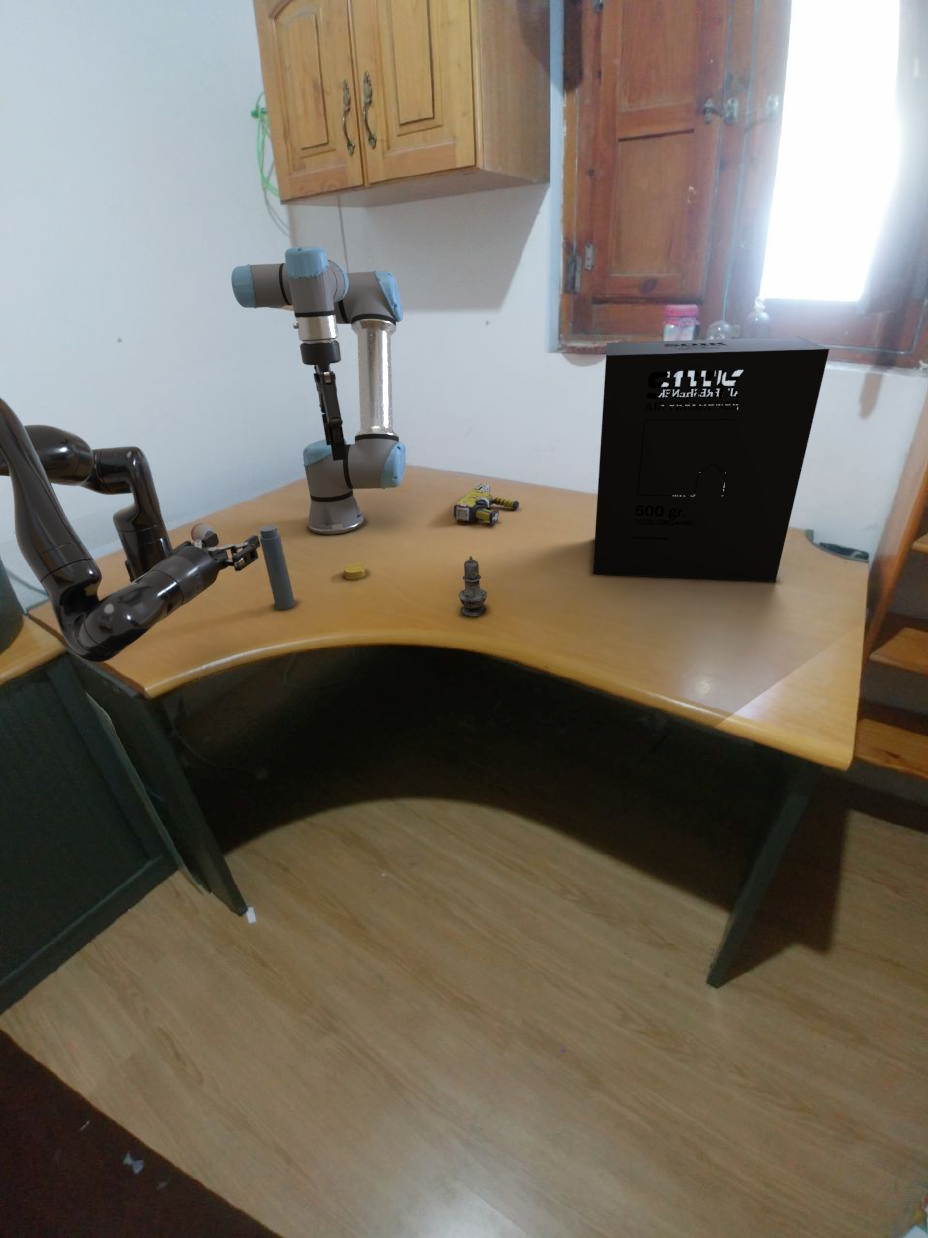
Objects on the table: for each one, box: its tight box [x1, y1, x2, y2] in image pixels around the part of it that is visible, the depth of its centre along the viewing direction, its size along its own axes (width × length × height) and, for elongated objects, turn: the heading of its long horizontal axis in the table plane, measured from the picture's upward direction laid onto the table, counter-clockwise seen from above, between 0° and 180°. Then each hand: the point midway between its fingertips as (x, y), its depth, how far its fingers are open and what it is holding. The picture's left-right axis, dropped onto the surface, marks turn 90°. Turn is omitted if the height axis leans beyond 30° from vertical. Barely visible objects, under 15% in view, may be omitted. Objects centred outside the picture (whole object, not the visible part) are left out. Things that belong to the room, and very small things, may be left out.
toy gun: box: [452, 482, 520, 526], centre depth 172 cm, size 5×24×15 cm
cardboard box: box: [592, 336, 830, 583], centre depth 128 cm, size 38×20×45 cm, turn 78°
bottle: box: [258, 524, 296, 611], centre depth 125 cm, size 4×4×18 cm
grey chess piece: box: [457, 555, 488, 617], centre depth 120 cm, size 6×6×12 cm
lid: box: [343, 563, 367, 581], centre depth 140 cm, size 5×5×2 cm
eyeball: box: [190, 522, 216, 542], centre depth 160 cm, size 6×6×6 cm
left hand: (236, 538), depth 111 cm, fingers open, 8 cm apart
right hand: (336, 451), depth 127 cm, fingers open, 13 cm apart
